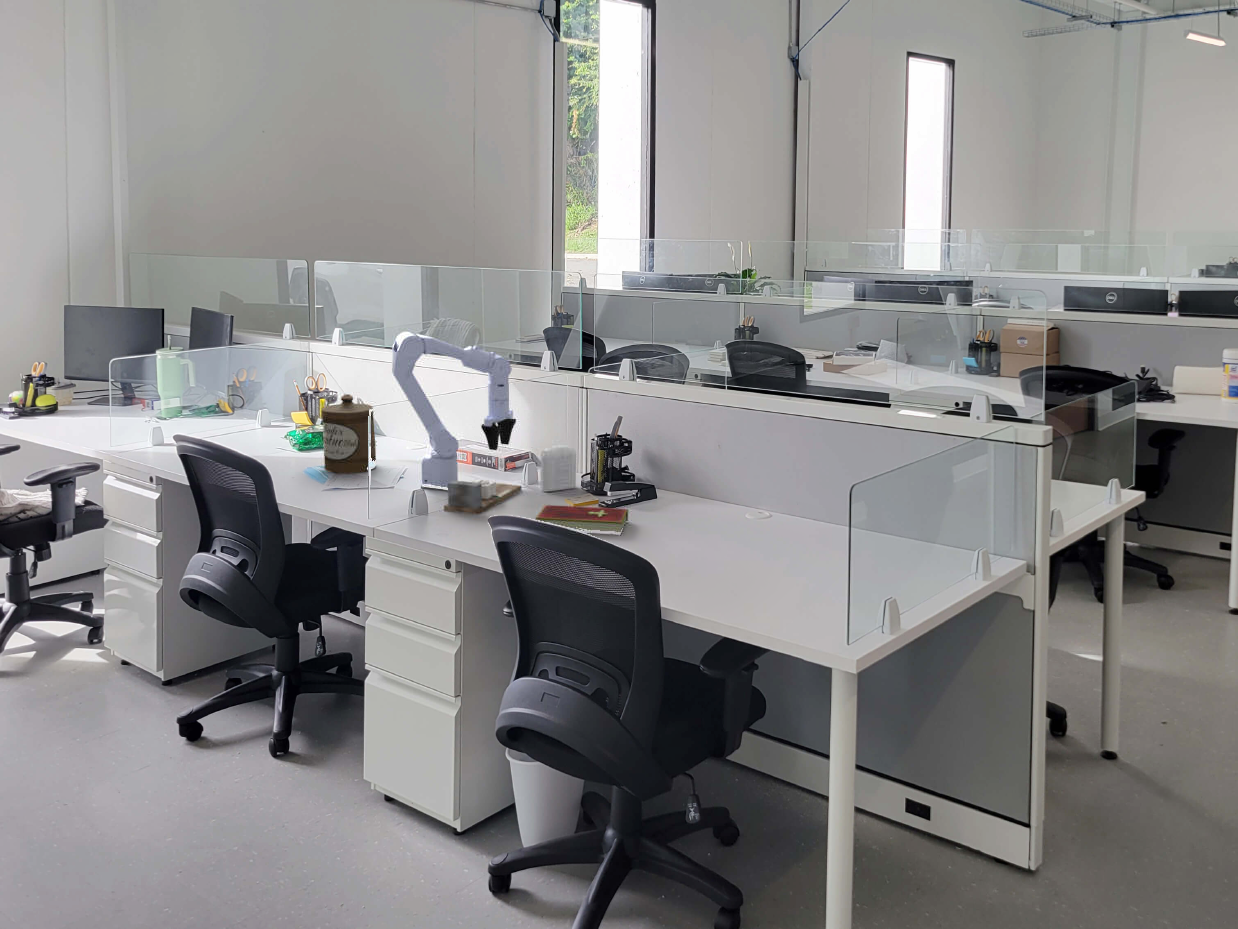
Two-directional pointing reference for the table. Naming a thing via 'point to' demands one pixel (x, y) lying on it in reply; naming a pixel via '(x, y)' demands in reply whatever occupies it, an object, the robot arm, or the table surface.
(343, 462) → the wooden container
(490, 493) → the gauge
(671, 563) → the table surface
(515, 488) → the test bench
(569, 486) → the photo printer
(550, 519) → the hardcover book
